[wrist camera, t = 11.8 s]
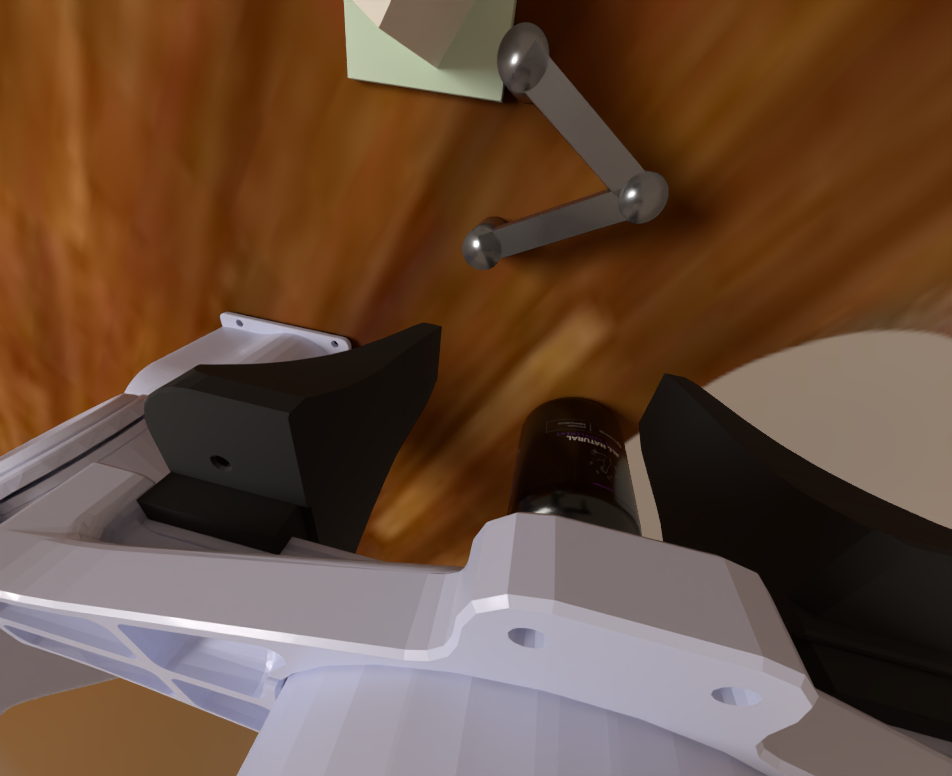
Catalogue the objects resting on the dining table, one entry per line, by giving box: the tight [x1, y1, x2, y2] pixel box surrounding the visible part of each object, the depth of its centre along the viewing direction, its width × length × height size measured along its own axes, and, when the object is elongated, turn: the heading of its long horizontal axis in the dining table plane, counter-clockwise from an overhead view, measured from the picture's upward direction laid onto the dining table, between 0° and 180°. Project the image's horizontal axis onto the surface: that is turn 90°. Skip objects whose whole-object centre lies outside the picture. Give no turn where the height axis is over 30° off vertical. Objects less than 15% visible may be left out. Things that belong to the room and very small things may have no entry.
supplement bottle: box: [507, 398, 642, 536], centre depth 20 cm, size 7×7×12 cm
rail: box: [463, 22, 669, 270], centre depth 15 cm, size 8×8×4 cm
